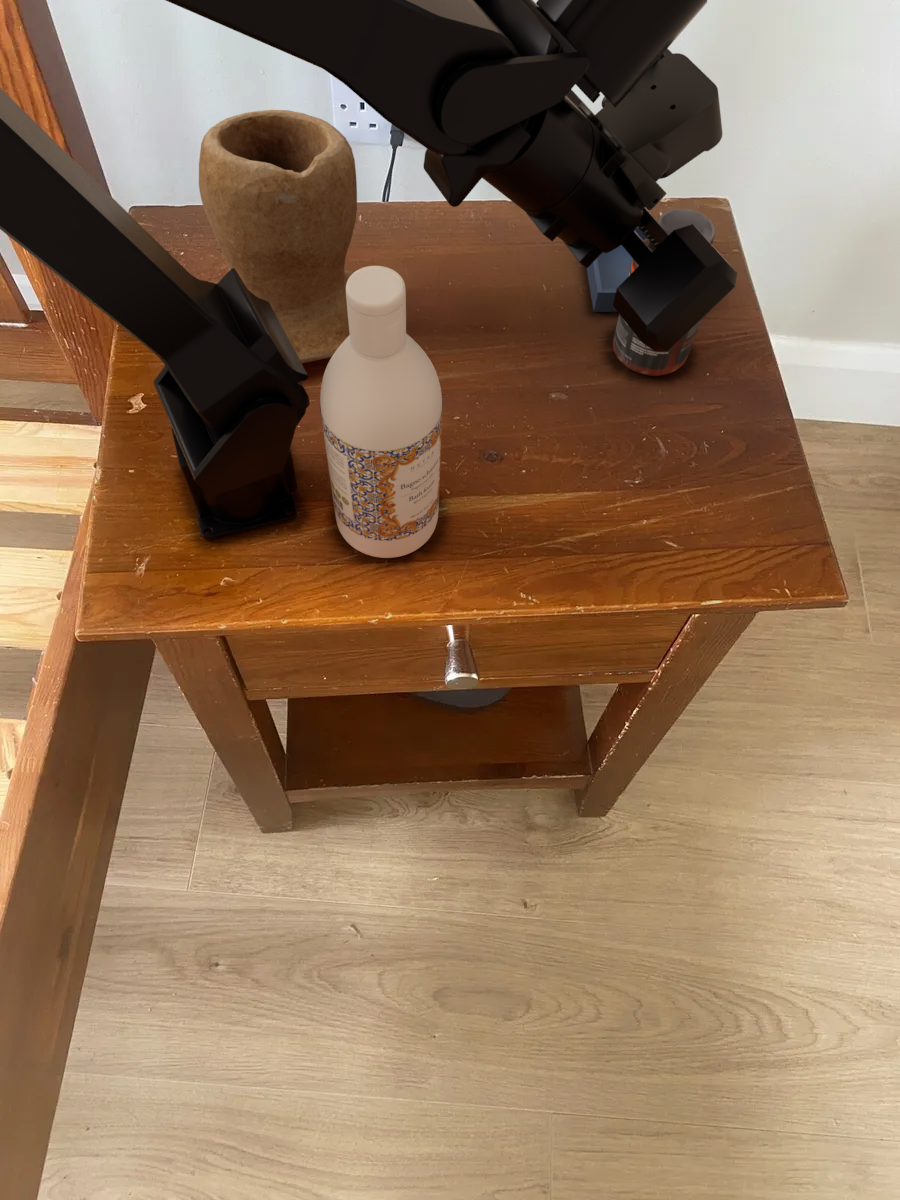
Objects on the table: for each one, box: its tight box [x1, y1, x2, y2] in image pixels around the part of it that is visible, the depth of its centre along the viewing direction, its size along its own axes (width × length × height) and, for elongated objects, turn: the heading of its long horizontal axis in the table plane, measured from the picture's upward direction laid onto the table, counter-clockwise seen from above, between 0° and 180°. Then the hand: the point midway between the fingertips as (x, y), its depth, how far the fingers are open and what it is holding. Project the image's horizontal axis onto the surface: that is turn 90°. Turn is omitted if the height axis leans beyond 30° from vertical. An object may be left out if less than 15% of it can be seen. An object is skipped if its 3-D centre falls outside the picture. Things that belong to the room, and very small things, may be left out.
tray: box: [586, 227, 646, 313], centre depth 72 cm, size 8×8×2 cm
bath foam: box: [319, 265, 444, 559], centre depth 52 cm, size 7×7×20 cm
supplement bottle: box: [612, 208, 716, 377], centre depth 64 cm, size 6×6×11 cm
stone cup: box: [198, 109, 358, 364], centre depth 62 cm, size 15×12×15 cm
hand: (667, 266), depth 61 cm, fingers open, 9 cm apart
